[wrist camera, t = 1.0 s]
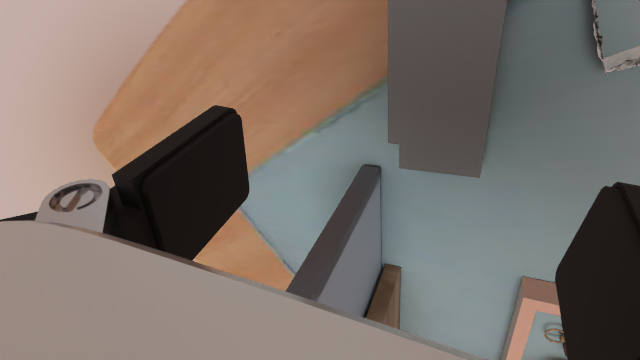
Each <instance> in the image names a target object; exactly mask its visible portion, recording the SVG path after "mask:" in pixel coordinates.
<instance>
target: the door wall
mask: <svg viewBox="0 0 640 360" xmlns="http://www.w3.org/2000/svg"><path fill="white" fill-rule="evenodd" d="M400 283H401V267H398V266H393V265H388V264H386V265H385V267H384V270H383V273H382V276H381V278H380V281H379V284H378V286H377V289H376V292H375V294H374V297H373V300H372V303H371V305H370V308H369V311H368V313H367V316H366V319H369V320H372V321H375V322H378V323H381V324H384V325H387V326H390V327H393V328H396V329H399V326H400Z"/></svg>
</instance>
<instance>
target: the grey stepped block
mask: <svg viewBox="0 0 640 360" xmlns="http://www.w3.org/2000/svg"><path fill="white" fill-rule="evenodd" d="M506 5H507V0H388V143H393V144H400V158H399V168H404V169H412V170H420V171H428V172H436V173H444V174H453V175H461V176H469V177H477V178H480V173H481V166H482V159H483V153H484V150H485V143H486V136H487V130H488V123H489V117H490V110H491V104H492V97H493V90H494V84H495V77H496V71H497V64H498V58H499V51H500V44H501V38H502V31H503V25H504V18H505V11H506Z"/></svg>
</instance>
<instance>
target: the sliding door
mask: <svg viewBox="0 0 640 360" xmlns="http://www.w3.org/2000/svg"><path fill="white" fill-rule="evenodd" d="M381 276H382V274H381V206H380V167H371V166H362V167H361V169H360V171H359V172H358V174H357V176H356V177H355V179H354V180H353V182H352V184H351V185H350V187H349V189H348V190H347V192H346V193H345V195H344V197H343V198H342V200H341V202H340V203H339V205H338V207H337V208H336V210H335V211H334V213H333V215H332V216H331V218H330V220H329V221H328V223H327V225H326V226H325V228H324V229H323V231H322V233H321V234H320V236H319V238H318V239H317V241H316V243H315V244H314V246H313V247H312V249H311V251H310V252H309V254H308V256H307V257H306V259H305V261H304V262H303V264H302V265H301V267H300V269H299V270H298V272H297V274H296V275H295V277H294V279H293V280H292V282H291V283H290V285H289V287H288V288H287V290H286V292H288V293H291V294H294V295H297V296H300V297H303V298H306V299H310V300H313V301H316V302H319V303H321V304H324V305H327V306H330V307H333V308H336V309H339V310H342V311H345V312H348V313H351V314H354V315H357V316H360V317H363V318H366V316H367V313H368V311H369V308H370V305H371V303H372V300H373V297H374V294H375V292H376V289H377V286H378V284H379V281H380V278H381Z"/></svg>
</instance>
